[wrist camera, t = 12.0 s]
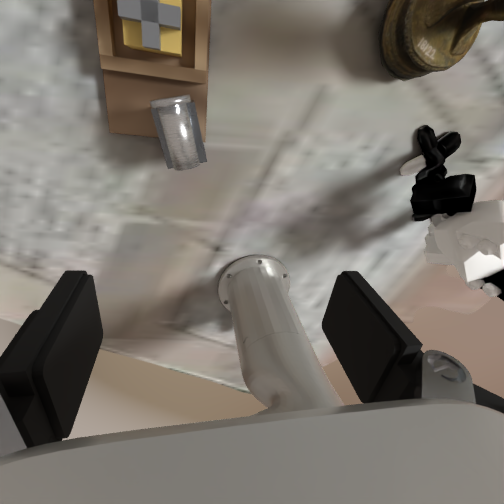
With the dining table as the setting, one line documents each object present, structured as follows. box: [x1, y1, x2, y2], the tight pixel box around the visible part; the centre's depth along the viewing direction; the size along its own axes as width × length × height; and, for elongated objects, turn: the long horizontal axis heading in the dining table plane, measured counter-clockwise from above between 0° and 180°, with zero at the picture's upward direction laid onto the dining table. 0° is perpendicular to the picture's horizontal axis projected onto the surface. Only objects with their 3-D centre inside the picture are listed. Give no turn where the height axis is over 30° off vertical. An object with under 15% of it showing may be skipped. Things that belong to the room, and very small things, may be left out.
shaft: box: [150, 95, 207, 170], centre depth 31 cm, size 7×4×9 cm, turn 8°
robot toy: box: [400, 125, 504, 301], centre depth 38 cm, size 19×14×20 cm
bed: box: [93, 0, 211, 142], centre depth 28 cm, size 22×11×3 cm, turn 173°
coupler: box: [117, 0, 182, 57], centre depth 26 cm, size 5×5×6 cm
